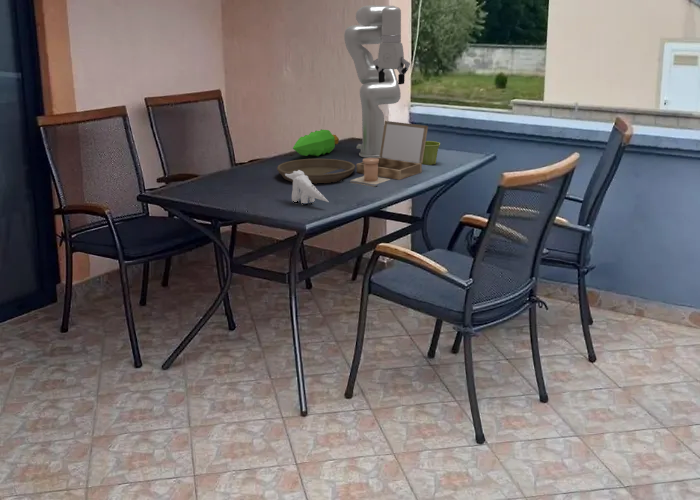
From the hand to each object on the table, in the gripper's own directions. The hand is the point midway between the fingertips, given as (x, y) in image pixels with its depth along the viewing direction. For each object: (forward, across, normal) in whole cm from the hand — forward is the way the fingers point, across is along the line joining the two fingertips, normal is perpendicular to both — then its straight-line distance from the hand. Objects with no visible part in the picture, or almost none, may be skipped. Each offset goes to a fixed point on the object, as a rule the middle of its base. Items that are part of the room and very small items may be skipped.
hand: (391, 83), depth 351 cm
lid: (+22, +7, -3) cm, 24 cm away
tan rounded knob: (+33, +9, -26) cm, 43 cm away
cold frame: (+34, +8, -12) cm, 37 cm away
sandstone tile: (+34, +9, -26) cm, 44 cm away
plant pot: (+34, +9, +14) cm, 38 cm away
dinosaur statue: (+34, +10, -64) cm, 73 cm away
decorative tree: (+34, -41, -2) cm, 54 cm away
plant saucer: (+35, -15, -30) cm, 48 cm away
